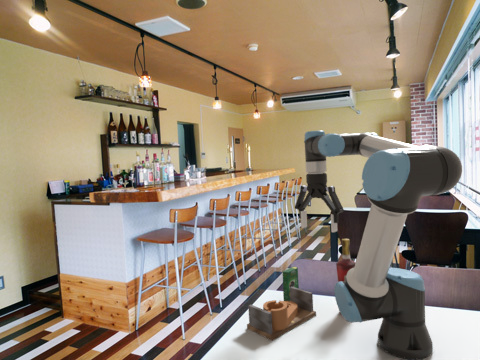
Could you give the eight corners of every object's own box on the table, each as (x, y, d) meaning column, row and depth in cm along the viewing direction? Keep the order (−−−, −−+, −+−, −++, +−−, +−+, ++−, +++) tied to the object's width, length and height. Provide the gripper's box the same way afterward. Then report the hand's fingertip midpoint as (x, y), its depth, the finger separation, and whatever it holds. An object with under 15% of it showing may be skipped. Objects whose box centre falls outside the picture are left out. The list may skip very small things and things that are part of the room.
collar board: (316, 315, 130) (315, 293, 130) (271, 340, 114) (270, 315, 114) (291, 306, 139) (290, 285, 139) (247, 328, 123) (245, 305, 123)
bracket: (282, 332, 116) (281, 312, 116) (260, 327, 120) (259, 308, 120) (300, 309, 132) (299, 292, 131) (280, 306, 136) (279, 289, 135)
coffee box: (294, 295, 149) (292, 265, 149) (299, 297, 147) (298, 266, 147) (283, 302, 143) (281, 271, 143) (289, 304, 141) (287, 272, 141)
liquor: (347, 307, 135) (344, 236, 133) (363, 314, 129) (360, 239, 127) (334, 312, 131) (330, 239, 130) (349, 320, 125) (346, 243, 123)
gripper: (352, 171, 123) (354, 231, 124) (296, 172, 141) (298, 224, 143) (340, 173, 118) (342, 235, 119) (284, 173, 136) (286, 227, 138)
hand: (318, 229), depth 131 cm, fingers open, 13 cm apart
